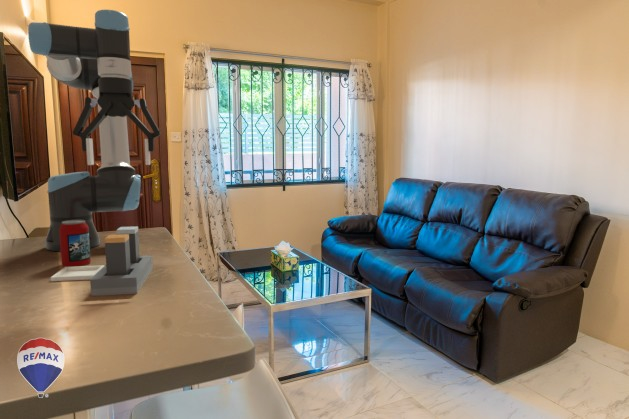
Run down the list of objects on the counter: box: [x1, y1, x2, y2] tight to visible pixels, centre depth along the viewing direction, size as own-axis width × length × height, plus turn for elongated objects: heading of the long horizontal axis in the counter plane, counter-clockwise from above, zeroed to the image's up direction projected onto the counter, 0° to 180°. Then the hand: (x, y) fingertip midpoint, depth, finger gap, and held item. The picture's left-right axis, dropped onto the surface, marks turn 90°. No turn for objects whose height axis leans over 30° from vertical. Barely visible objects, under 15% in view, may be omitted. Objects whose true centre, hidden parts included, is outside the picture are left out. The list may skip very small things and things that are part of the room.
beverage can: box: [59, 220, 91, 268], centre depth 115 cm, size 7×7×12 cm
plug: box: [104, 234, 131, 276], centre depth 96 cm, size 4×4×10 cm
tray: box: [50, 264, 106, 282], centre depth 106 cm, size 9×9×2 cm
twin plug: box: [116, 226, 141, 263], centre depth 106 cm, size 4×4×10 cm
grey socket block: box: [89, 254, 154, 297], centre depth 101 cm, size 20×9×4 cm, turn 11°
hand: (119, 165), depth 111 cm, fingers open, 13 cm apart
